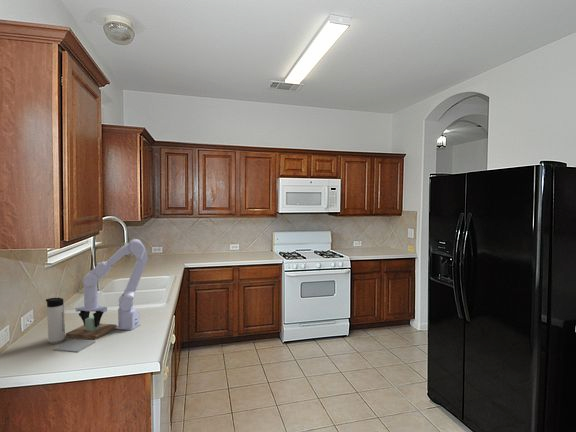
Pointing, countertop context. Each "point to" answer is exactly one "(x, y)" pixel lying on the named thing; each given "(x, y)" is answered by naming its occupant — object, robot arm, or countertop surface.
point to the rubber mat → (74, 345)
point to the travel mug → (55, 320)
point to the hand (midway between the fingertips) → (92, 326)
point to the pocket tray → (95, 334)
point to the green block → (90, 324)
